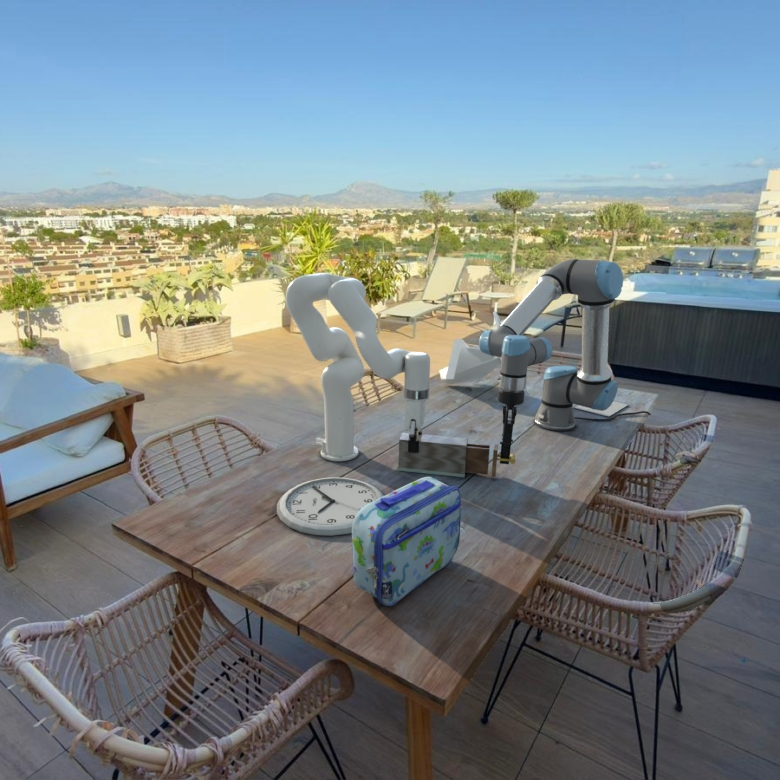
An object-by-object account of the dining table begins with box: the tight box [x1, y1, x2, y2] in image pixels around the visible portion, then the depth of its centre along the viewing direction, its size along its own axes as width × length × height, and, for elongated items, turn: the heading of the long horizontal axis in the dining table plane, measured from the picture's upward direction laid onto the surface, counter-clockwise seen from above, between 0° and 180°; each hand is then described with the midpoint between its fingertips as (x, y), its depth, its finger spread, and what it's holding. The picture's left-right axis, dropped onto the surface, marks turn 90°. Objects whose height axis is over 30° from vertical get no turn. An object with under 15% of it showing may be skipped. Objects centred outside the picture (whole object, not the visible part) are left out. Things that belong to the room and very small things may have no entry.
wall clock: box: [276, 476, 385, 537], centre depth 142 cm, size 30×2×30 cm
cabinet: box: [398, 432, 469, 478], centre depth 163 cm, size 21×6×10 cm, turn 78°
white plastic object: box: [438, 310, 531, 397], centre depth 245 cm, size 37×45×31 cm
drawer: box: [465, 442, 516, 478], centre depth 161 cm, size 25×5×9 cm, turn 78°
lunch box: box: [351, 476, 462, 607], centre depth 111 cm, size 26×11×21 cm, turn 135°
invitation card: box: [573, 400, 629, 418], centre depth 226 cm, size 21×1×15 cm
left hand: (415, 447), depth 164 cm, fingers closed on cabinet, 5 cm apart
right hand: (504, 462), depth 159 cm, fingers closed
